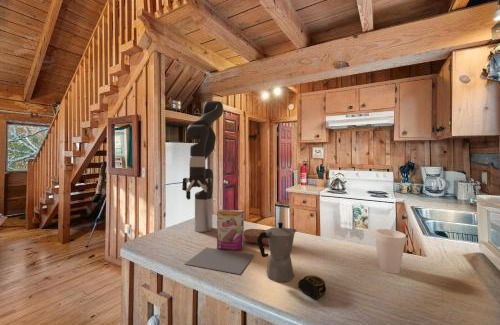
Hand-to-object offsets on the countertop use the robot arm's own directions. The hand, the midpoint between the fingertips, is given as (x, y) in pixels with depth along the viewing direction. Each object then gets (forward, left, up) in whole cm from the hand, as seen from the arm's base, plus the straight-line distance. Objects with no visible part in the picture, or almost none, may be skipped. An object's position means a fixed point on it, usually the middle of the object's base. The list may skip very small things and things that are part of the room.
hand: (197, 199), depth 110 cm
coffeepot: (+21, +44, -19) cm, 52 cm away
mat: (+17, +21, -19) cm, 33 cm away
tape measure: (+27, +56, -19) cm, 65 cm away
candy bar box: (+5, +20, -19) cm, 28 cm away
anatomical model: (-5, +34, -20) cm, 39 cm away
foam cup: (+3, +81, -19) cm, 83 cm away
